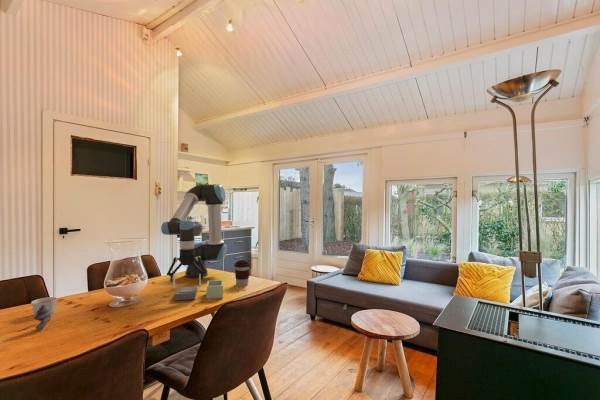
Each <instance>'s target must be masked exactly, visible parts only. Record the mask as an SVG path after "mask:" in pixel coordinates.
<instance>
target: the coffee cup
mask: <svg viewBox="0 0 600 400" xmlns="http://www.w3.org/2000/svg"><path fill="white" fill-rule="evenodd" d="M233 265H234V268H235V269H234V274H235V275H234V277H235V285H236V286H237V287H246V286H248V285H249V278H250V267H251V262H249V261H248V260H247V259H246V260H245V259H241V260H240V259H239V260H237V261H236V262H234V264H233Z"/></svg>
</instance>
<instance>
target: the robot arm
mask: <svg viewBox="0 0 600 400" xmlns="http://www.w3.org/2000/svg"><path fill="white" fill-rule="evenodd" d="M226 196H227V195H226V191H225V188H224V186H223V185H222V184H198V185H194V186H193V187H191V188H190V189H188V190H187V192H186V193H185V195H184V196H183V200H182V202H181V203H180V204H179V206H178V208H177V209H176V211H175V212H174V214H173V215H172V217H171V218H170V220H169V221H164V222H162V224H161V226H160V227H161V228H160V229H161V230H160V231H161V233H162V234H163V235H166V236H167V235H168V236H176V235H177V236H179V257H176V256H174V257H173V261H172V263H171V265H170V267H169V269H168V271H167V273H166V275H167V276H170V278H169V279H170V282H171V283H172V289H175V287H176V275H175V274H176V273H177V271H179V269H180V268H181V267H182V266H185V267H186V269H185V272H184V276H185V278H190V279H191V278H193V279H195V278H196V279H197V278H198V279H199V280H198V282H199V283H198V284H199V285H198V287H201V286H202V281H203V280H204V278H205V277H206V276H208V274H209V272H208V268H207V265H206V262H207V261H208V262H209V261H210V262H213V261H214V262H220V261H221V262H223V261H224V260H225V259H226V256H227V252H228V245H227V244H225V241H224V240H223V239H222V234H223V233H222V209H221V206H222V205H223V203H224V202H225V201H226ZM199 202H205V204H204V205H206V206H207V219H208V221H207V222H208V241H207V242H206V241H198V242H195V236H196V235H199V234H201V233H202V232H203V231H204V225H203V223H202V222H199V221H195V220H193V219H188V218H189V215H190V213H191V212H192V210H193V209H194V207H195V205H197V204H198V203H199ZM178 261H179V264H178V265H177V267H175V264H176V263H177V262H178ZM174 267H175V269H174V270H173V268H174ZM172 270H173V271H172Z"/></svg>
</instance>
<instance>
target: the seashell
mask: <svg viewBox="0 0 600 400" xmlns="http://www.w3.org/2000/svg"><path fill="white" fill-rule="evenodd" d="M51 313H52V312H51V310H50V309H49V306H48V305H45V304H43V305H42V306H41V307H40V308H39V310H38V311H37V312H36V314H37V315H36V316H34V320H36V321H40V322H39V323H38V324H37V325H36V326H35V329H36V330H38V331H43V329H44V328H45V327H46V325H47V323H49V321H50V320H51V319H52V314H53V313H52V314H51Z"/></svg>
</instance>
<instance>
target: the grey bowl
mask: <svg viewBox="0 0 600 400" xmlns="http://www.w3.org/2000/svg"><path fill="white" fill-rule="evenodd" d="M57 301H58V298H57V296H56V297H54V296H50V297H42V298H37V299H35V300H34V299H33V300H32V301H31V306H32V311H33V316H34V317H35V316H36V315H37V314H36V312H37V311H38V310H39V308H40V307H41V306H42V305H43V304H45V305H48V306H49V309H50V310H51V312H52V313H51V314H50V315H52V314H54V313H55V309H56V306H57Z"/></svg>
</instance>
